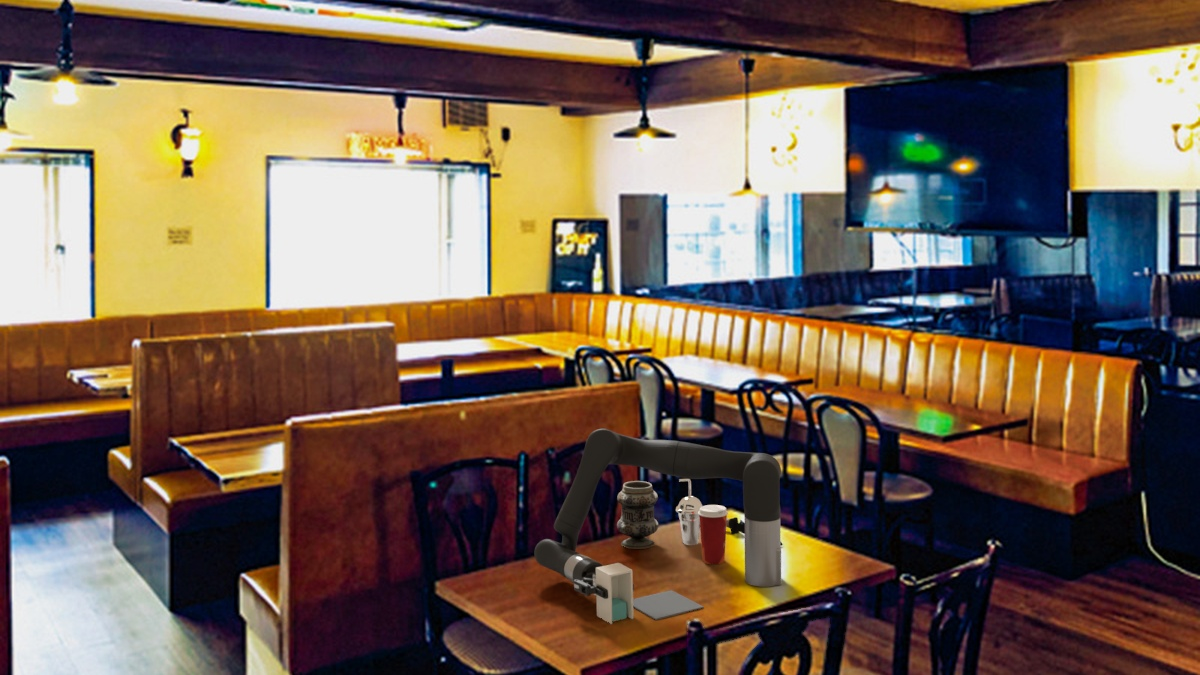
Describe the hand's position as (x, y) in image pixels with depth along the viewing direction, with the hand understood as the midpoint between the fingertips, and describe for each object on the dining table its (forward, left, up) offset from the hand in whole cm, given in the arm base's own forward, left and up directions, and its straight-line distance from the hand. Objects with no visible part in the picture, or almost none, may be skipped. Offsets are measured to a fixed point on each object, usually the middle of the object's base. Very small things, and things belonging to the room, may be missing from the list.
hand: (619, 591), depth 256 cm
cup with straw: (-15, -61, -7) cm, 63 cm away
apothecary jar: (0, -59, -7) cm, 59 cm away
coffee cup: (-22, -45, -7) cm, 50 cm away
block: (+1, -2, -7) cm, 7 cm away
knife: (-30, -68, -7) cm, 75 cm away
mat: (-10, -10, -7) cm, 16 cm away
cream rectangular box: (+1, -2, -7) cm, 7 cm away
